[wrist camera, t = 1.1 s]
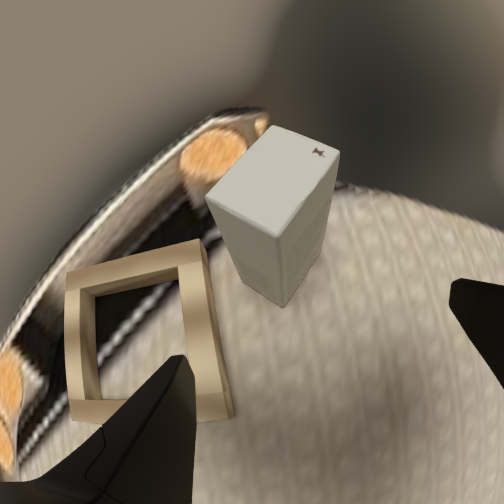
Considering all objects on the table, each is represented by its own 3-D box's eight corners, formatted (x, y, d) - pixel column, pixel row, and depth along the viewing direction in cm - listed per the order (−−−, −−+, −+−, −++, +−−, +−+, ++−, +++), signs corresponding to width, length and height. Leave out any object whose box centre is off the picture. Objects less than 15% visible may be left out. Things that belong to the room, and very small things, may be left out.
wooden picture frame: (234, 414, 18) (228, 419, 16) (88, 419, 19) (72, 420, 16) (206, 252, 25) (199, 238, 22) (81, 281, 25) (66, 272, 23)
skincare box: (279, 229, 25) (273, 121, 14) (321, 252, 24) (344, 149, 13) (239, 283, 23) (200, 195, 12) (282, 311, 22) (280, 239, 11)
